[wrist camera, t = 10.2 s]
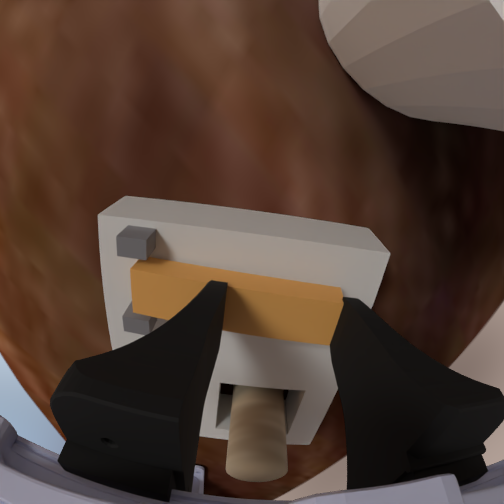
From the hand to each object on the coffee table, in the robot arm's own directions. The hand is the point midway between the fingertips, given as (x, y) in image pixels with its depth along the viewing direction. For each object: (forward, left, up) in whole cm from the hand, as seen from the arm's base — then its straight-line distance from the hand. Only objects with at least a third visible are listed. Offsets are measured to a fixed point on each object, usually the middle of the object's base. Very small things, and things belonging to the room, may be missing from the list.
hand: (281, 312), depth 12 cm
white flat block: (-5, +2, -5) cm, 7 cm away
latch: (0, +2, -1) cm, 2 cm away
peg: (-8, 0, -5) cm, 9 cm away
